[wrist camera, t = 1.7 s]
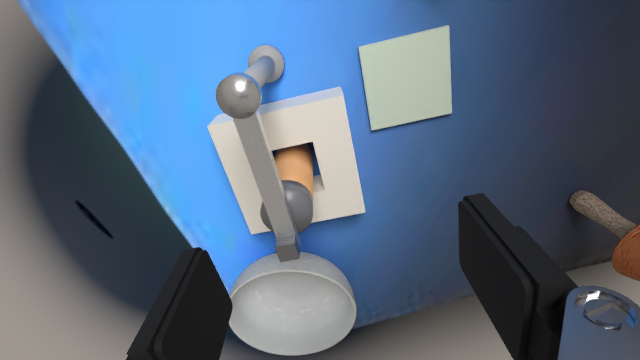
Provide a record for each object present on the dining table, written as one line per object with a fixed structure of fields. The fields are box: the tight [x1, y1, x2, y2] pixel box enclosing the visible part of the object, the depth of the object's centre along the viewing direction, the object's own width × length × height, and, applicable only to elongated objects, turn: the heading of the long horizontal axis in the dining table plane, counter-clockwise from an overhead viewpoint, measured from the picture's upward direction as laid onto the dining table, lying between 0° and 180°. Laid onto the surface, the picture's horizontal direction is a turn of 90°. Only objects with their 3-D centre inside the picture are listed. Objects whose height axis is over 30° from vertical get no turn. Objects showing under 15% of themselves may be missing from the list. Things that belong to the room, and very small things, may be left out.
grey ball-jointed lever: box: [216, 73, 301, 262], centre depth 23 cm, size 14×3×2 cm, turn 13°
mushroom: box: [569, 190, 640, 281], centre depth 35 cm, size 8×8×15 cm
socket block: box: [207, 45, 365, 235], centre depth 31 cm, size 14×20×13 cm
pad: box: [358, 25, 452, 130], centre depth 34 cm, size 9×9×1 cm
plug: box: [260, 143, 313, 233], centre depth 33 cm, size 5×5×12 cm
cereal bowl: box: [229, 252, 356, 355], centre depth 45 cm, size 17×17×7 cm
